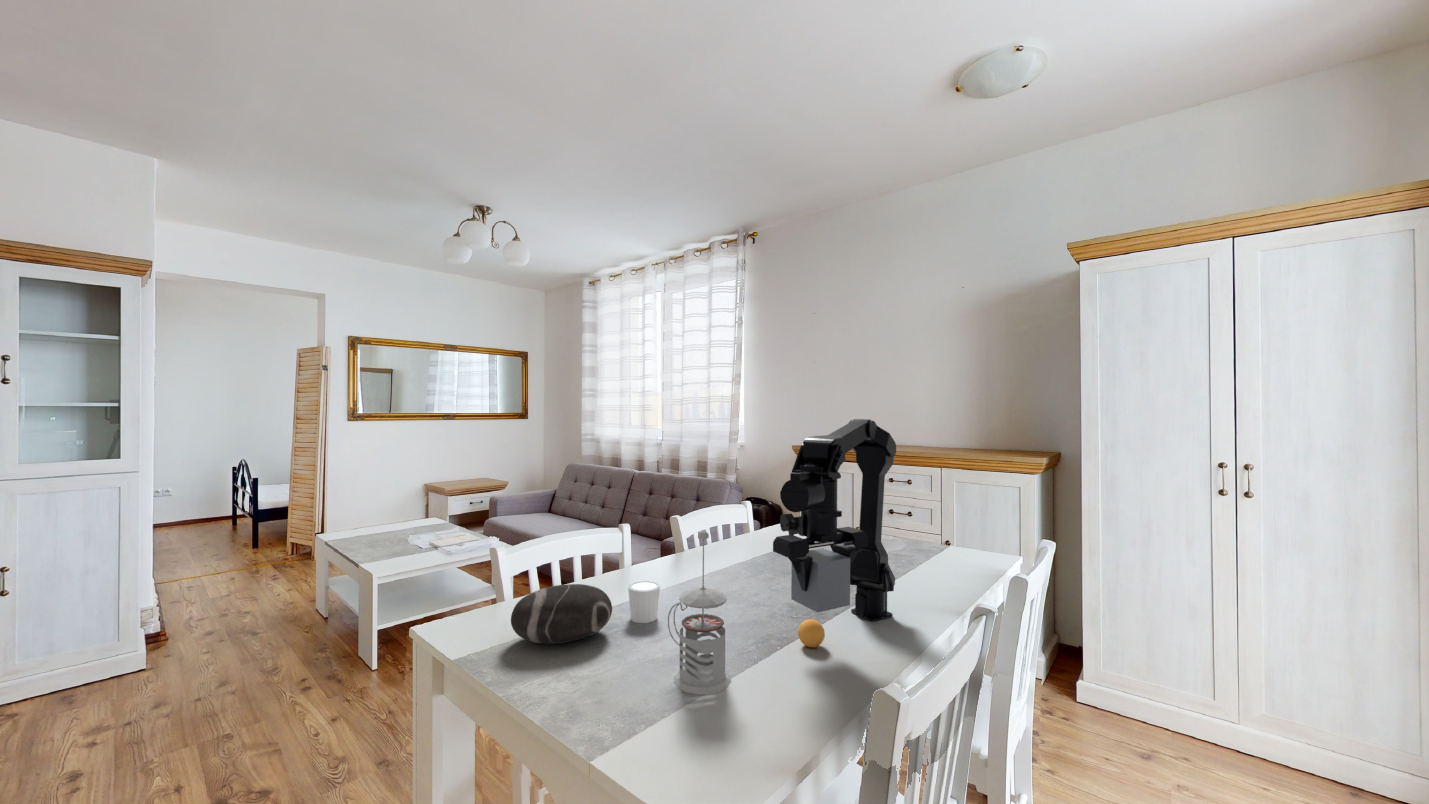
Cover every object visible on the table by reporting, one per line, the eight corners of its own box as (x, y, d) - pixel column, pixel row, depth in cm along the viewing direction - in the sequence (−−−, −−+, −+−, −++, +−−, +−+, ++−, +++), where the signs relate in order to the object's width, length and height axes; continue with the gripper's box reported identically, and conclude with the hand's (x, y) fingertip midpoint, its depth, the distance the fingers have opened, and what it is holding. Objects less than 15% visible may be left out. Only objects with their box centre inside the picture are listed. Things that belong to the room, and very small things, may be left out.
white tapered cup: (654, 625, 117) (654, 592, 117) (623, 622, 118) (623, 589, 118) (663, 613, 124) (664, 581, 124) (634, 611, 125) (634, 579, 125)
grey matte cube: (822, 592, 111) (823, 548, 111) (849, 605, 104) (850, 557, 104) (791, 599, 107) (791, 553, 107) (817, 612, 100) (817, 563, 100)
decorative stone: (513, 662, 100) (513, 606, 100) (508, 632, 113) (508, 582, 113) (619, 644, 108) (620, 592, 108) (603, 618, 121) (603, 571, 121)
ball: (833, 634, 106) (823, 650, 108) (820, 612, 109) (810, 627, 112) (811, 638, 103) (802, 655, 106) (799, 615, 107) (790, 632, 109)
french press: (711, 700, 88) (712, 540, 88) (652, 680, 94) (653, 531, 94) (742, 675, 96) (743, 528, 96) (686, 658, 102) (687, 521, 102)
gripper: (831, 494, 117) (830, 569, 117) (756, 501, 108) (756, 582, 108) (870, 502, 107) (869, 584, 107) (791, 511, 98) (791, 600, 98)
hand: (821, 587), depth 105 cm, fingers closed on grey matte cube, 8 cm apart
